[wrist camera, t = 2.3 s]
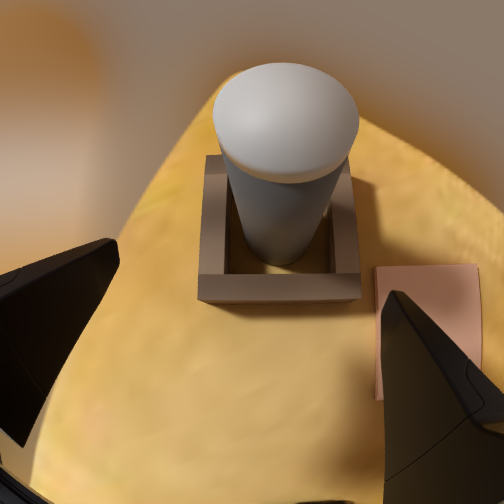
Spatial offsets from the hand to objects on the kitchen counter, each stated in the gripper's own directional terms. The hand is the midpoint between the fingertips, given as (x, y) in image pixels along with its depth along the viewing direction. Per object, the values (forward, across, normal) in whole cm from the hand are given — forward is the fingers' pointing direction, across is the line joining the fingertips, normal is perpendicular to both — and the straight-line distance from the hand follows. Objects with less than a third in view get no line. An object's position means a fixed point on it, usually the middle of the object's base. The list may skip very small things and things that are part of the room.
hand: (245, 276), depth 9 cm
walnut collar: (+11, 0, +4) cm, 12 cm away
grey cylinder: (+11, 0, +4) cm, 12 cm away
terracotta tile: (+8, -12, +8) cm, 16 cm away
